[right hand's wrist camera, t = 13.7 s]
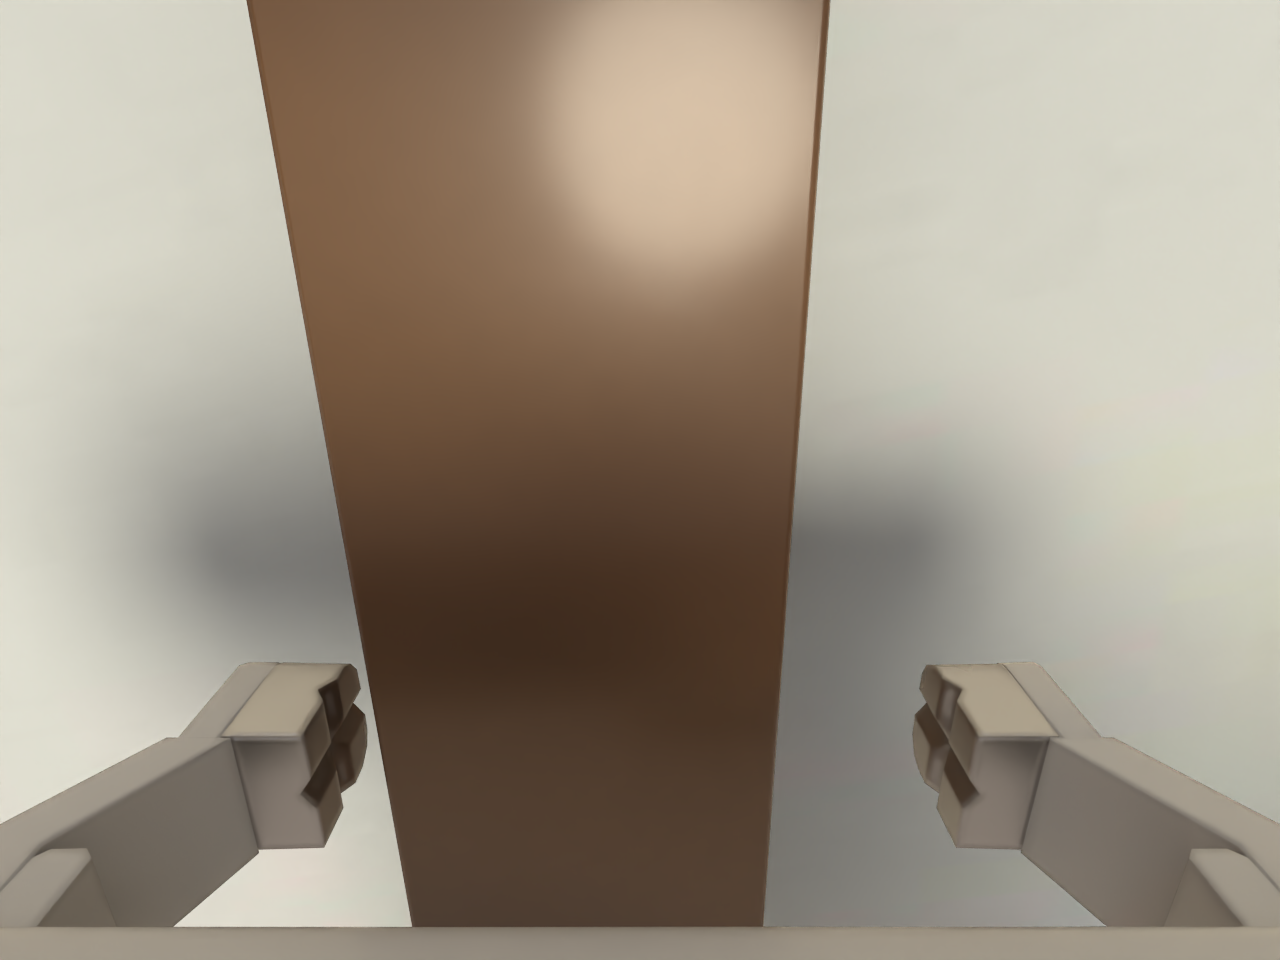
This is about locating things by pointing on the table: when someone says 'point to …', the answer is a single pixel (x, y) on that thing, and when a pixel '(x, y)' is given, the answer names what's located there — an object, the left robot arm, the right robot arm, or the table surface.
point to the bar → (561, 424)
